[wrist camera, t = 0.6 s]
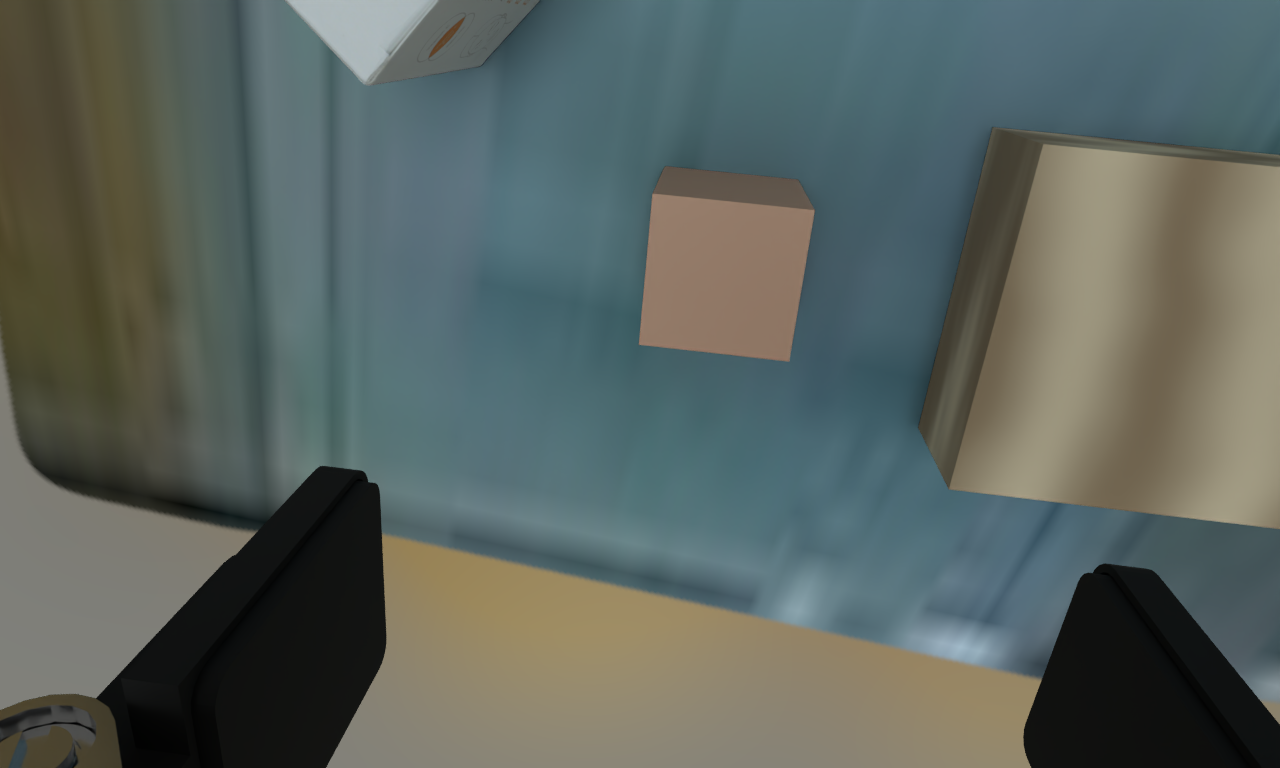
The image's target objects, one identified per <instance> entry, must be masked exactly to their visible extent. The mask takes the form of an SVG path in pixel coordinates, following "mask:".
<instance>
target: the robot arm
mask: <svg viewBox="0 0 1280 768" xmlns="http://www.w3.org/2000/svg"><path fill="white" fill-rule="evenodd" d="M383 576H384V575H383V553H382V530H381V508H380V492H379V487H378V485H377V484H376V483H370V482H368V479H367V476H366V474H365V473H364V472H363V471H360V470H352V469H344V468H336V467H328V466H320V467H318V468H317V469H316V470H315V471H314V472H313V473H312V474H311V475H310V476H309V477H308V478H307V479H306V480H305V481H304V482H303V484H302V485H301V486H300V487H299V488H298V489H297V490H296V491H295V492H294V493H293V494H292V495H291V496H290V497H289V499H288V500H287V501H286V502H285V503H284V504H283V505H282V506H281V507H280V508H279V509H278V510H277V511H276V512H275V514H274V515H273V516H272V517H271V518H270V519H269V520H268V521H267V522H266V523H265V524H264V525H263V526H262V527H261V529H260V530H259V531H258V532H257V533H256V534H255V535H254V536H253V537H252V538H251V539H250V540H249V541H248V542H247V544H246V545H245V546H244V547H243V548H242V549H241V550H240V551H239V552H238V553H237V554H236V555H234V556H232V557H231V558H229V559H228V560H227V561H226V562H224V563H223V565H222V566H221V567H220V568H219V569H218V570H217V571H216V572H215V573H214V574H213V575H212V576H211V577H210V578H209V579H208V580H207V581H206V582H205V583H204V584H203V586H202V587H201V588H200V589H199V590H198V591H197V592H196V593H195V594H194V595H193V596H192V597H191V598H190V599H189V600H188V602H187V603H186V604H185V605H184V606H183V607H182V608H181V609H180V610H179V611H178V612H177V613H176V614H175V615H174V616H173V617H172V619H170V621H169V622H168V623H167V624H166V625H165V626H164V627H163V628H162V629H161V630H160V631H159V632H158V633H157V634H156V636H155V637H154V638H153V639H152V640H151V641H150V642H149V643H148V644H147V645H146V646H145V647H144V648H143V649H142V650H141V651H140V652H139V653H138V654H137V656H136V657H135V658H134V659H133V660H132V661H131V662H130V663H129V664H128V665H127V666H126V667H125V668H124V669H123V671H121V673H120V674H119V675H118V676H117V677H116V678H115V679H114V680H113V681H112V682H111V683H110V684H109V685H108V686H107V687H106V688H105V690H104V691H103V692H102V693H101V694H100V695H99V696H98V697H97V698H92V697H88V696H83V695H79V694H57V695H56V694H55V695H48V696H43V697H38V698H34V699H29V700H25V701H22V702H20V703H17V704H15V705H12V706H10V707H7V708H4V709H2V710H0V768H326V767H327V765H328V763H329V761H330V759H331V757H332V756H333V754H334V752H335V750H336V748H337V746H338V744H339V743H340V741H341V739H342V737H343V735H344V733H345V731H346V730H347V728H348V726H349V724H350V722H351V720H352V718H353V717H354V714H355V713H356V711H357V709H358V707H359V705H360V704H361V701H362V700H363V698H364V696H365V694H366V692H367V691H368V689H369V687H370V685H371V683H372V681H373V679H374V677H375V676H376V674H377V672H378V670H379V668H380V666H381V664H382V661H383V658H384V654H385V648H386V619H385V599H384V598H385V597H384V577H383ZM1023 738H1024V748H1025V753H1026V756H1027V759H1028V761H1029V763H1030V766H1031V768H1280V724H1279V723H1278V722H1277V721H1276V720H1275V718H1274V717H1273V716H1272V715H1271V713H1270V712H1269V711H1268V710H1267V708H1266V707H1265V706H1264V705H1263V704H1262V702H1261V701H1260V700H1259V699H1258V697H1257V696H1256V695H1255V694H1254V693H1253V691H1252V690H1251V689H1250V688H1249V686H1248V685H1247V684H1246V683H1245V681H1244V680H1243V679H1242V678H1241V677H1240V675H1239V674H1238V673H1237V672H1236V670H1235V669H1234V668H1233V667H1232V665H1231V664H1230V663H1229V662H1228V661H1227V659H1226V658H1225V657H1224V656H1223V654H1222V653H1221V652H1220V651H1219V650H1218V648H1217V647H1216V646H1215V645H1214V643H1213V642H1212V641H1211V640H1210V638H1209V637H1208V636H1207V635H1206V634H1205V632H1204V631H1203V630H1202V629H1201V627H1200V626H1199V625H1198V624H1197V623H1196V621H1195V620H1194V619H1193V618H1192V616H1191V615H1190V614H1189V613H1188V611H1187V610H1186V609H1185V608H1184V607H1183V605H1182V604H1181V603H1180V602H1179V600H1178V599H1177V598H1176V597H1175V595H1174V594H1173V593H1172V592H1171V591H1170V589H1169V588H1168V587H1167V586H1166V584H1165V583H1164V582H1163V581H1162V580H1161V578H1160V577H1159V576H1158V575H1157V574H1156V573H1155V572H1154V571H1153V570H1149V569H1144V568H1136V567H1128V566H1120V565H1112V564H1102V565H1099V566H1098V567H1097V568H1096V569H1095V570H1094V572H1093V573H1086V574H1084V575H1083V576H1082V577H1081V578H1080V580H1079V582H1078V584H1077V587H1076V590H1075V592H1074V595H1073V598H1072V600H1071V603H1070V606H1069V608H1068V611H1067V614H1066V616H1065V619H1064V622H1063V624H1062V627H1061V630H1060V633H1059V635H1058V638H1057V641H1056V643H1055V646H1054V649H1053V651H1052V654H1051V657H1050V659H1049V662H1048V665H1047V668H1046V670H1045V673H1044V676H1043V678H1042V681H1041V684H1040V686H1039V689H1038V692H1037V694H1036V697H1035V700H1034V703H1033V705H1032V708H1031V711H1030V713H1029V716H1028V719H1027V722H1026V724H1025V728H1024V737H1023Z"/></svg>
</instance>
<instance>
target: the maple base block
mask: <svg viewBox="0 0 1280 768" xmlns="http://www.w3.org/2000/svg"><path fill="white" fill-rule="evenodd" d="M918 428H919V430H920V432H921V434H922V436H923V438H924V440H925V442H926V444H927V446H928V448H929V450H930V452H931V454H932V456H933V458H934V460H935V462H936V464H937V466H938V468H939V470H940V472H941V474H942V476H943V478H944V480H945V482H946V484H947V486H948V488H949V489H950V490H959V491H967V492H975V493H984V494H992V495H1000V496H1009V497H1017V498H1025V499H1034V500H1042V501H1051V502H1059V503H1067V504H1076V505H1084V506H1092V507H1101V508H1109V509H1117V510H1126V511H1134V512H1142V513H1151V514H1159V515H1167V516H1176V517H1184V518H1192V519H1201V520H1209V521H1217V522H1226V523H1234V524H1242V525H1251V526H1259V527H1267V528H1276V529H1280V155H1275V154H1264V153H1254V152H1244V151H1233V150H1223V149H1213V148H1202V147H1192V146H1182V145H1171V144H1161V143H1151V142H1140V141H1130V140H1120V139H1109V138H1099V137H1089V136H1078V135H1068V134H1058V133H1047V132H1037V131H1027V130H1016V129H1006V128H996V127H993V128H992V132H991V136H990V140H989V144H988V148H987V152H986V156H985V160H984V164H983V168H982V172H981V176H980V181H979V185H978V189H977V193H976V197H975V201H974V205H973V209H972V213H971V217H970V221H969V225H968V229H967V233H966V237H965V241H964V245H963V249H962V253H961V257H960V261H959V265H958V269H957V273H956V277H955V281H954V285H953V290H952V294H951V298H950V302H949V306H948V310H947V314H946V318H945V322H944V326H943V330H942V334H941V338H940V342H939V346H938V350H937V354H936V358H935V362H934V366H933V370H932V374H931V378H930V382H929V386H928V390H927V394H926V399H925V403H924V407H923V411H922V415H921V419H920V423H919V427H918Z"/></svg>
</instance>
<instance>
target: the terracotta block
mask: <svg viewBox="0 0 1280 768" xmlns="http://www.w3.org/2000/svg"><path fill="white" fill-rule="evenodd" d="M814 212H815V210H814V208H813V206H812V204H811V202H810V200H809V199H808V197H807V195H806V193H805V191H804V189H803V188H802V186H801V184H800V182H799V180H797V179H787V178H777V177H767V176H757V175H747V174H737V173H728V172H718V171H708V170H698V169H688V168H678V167H668V166H665V167H664V169H663V172H662V174H661V176H660V178H659V180H658V183H657V185H656V187H655V189H654V191H653V194H652V205H651V216H650V227H649V239H648V250H647V261H646V272H645V283H644V294H643V305H642V316H641V327H640V338H639V345H647V346H655V347H664V348H673V349H682V350H691V351H700V352H709V353H718V354H727V355H735V356H744V357H753V358H762V359H771V360H780V361H789V360H790V354H791V348H792V342H793V336H794V330H795V324H796V318H797V312H798V307H799V301H800V295H801V289H802V283H803V277H804V271H805V265H806V260H807V254H808V248H809V242H810V236H811V230H812V224H813V218H814Z"/></svg>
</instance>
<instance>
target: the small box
mask: <svg viewBox="0 0 1280 768" xmlns="http://www.w3.org/2000/svg"><path fill="white" fill-rule="evenodd" d="M285 1H286V2H287V3H288V5H289V6H290V7H291V8H292V9H293V10H294V11H295V12H296V13H297V14H298V15H299V16H300V17H301V18H302V19H303V20H304V21H305V23H306V24H307V25H308V26H309V27H310V28H311V29H312V30H313V31H314V32H315V33H316V34H317V35H318V36H319V37H320V38H321V39H322V41H323V42H324V43H325V44H326V45H327V46H328V47H329V48H330V49H331V50H332V51H333V52H334V53H335V54H336V55H337V56H338V57H339V58H340V59H341V60H342V62H343V63H344V64H345V65H346V66H347V67H348V68H349V69H350V70H351V71H352V72H353V73H354V74H355V75H356V76H357V77H358V78H359V80H360V81H361V82H362V83H364V84H365V85H368V86H369V85H376V84H381V83H387V82H394V81H400V80H406V79H412V78H418V77H424V76H429V75H435V74H441V73H446V72H451V71H458V70H463V69H469V68H475V67H480V66H481V65H482V64H483V63H484V62H485V60H486V59H487V58H488V57H489V56H490V55H491V54H492V52H493V51H494V50H495V49H496V48H497V47H498V46H499V45H500V44H501V43H502V41H503V40H504V39H505V38H506V37H507V36H508V35H509V34H510V33H511V32H512V30H513V29H514V28H515V27H516V26H517V25H518V24H519V23H520V22H521V21H522V20H523V18H524V17H525V16H526V15H527V14H528V13H529V12H530V11H531V10H532V9H533V7H534V6H535V5H536V4H537V3H538V2H539V1H540V0H285Z"/></svg>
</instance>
